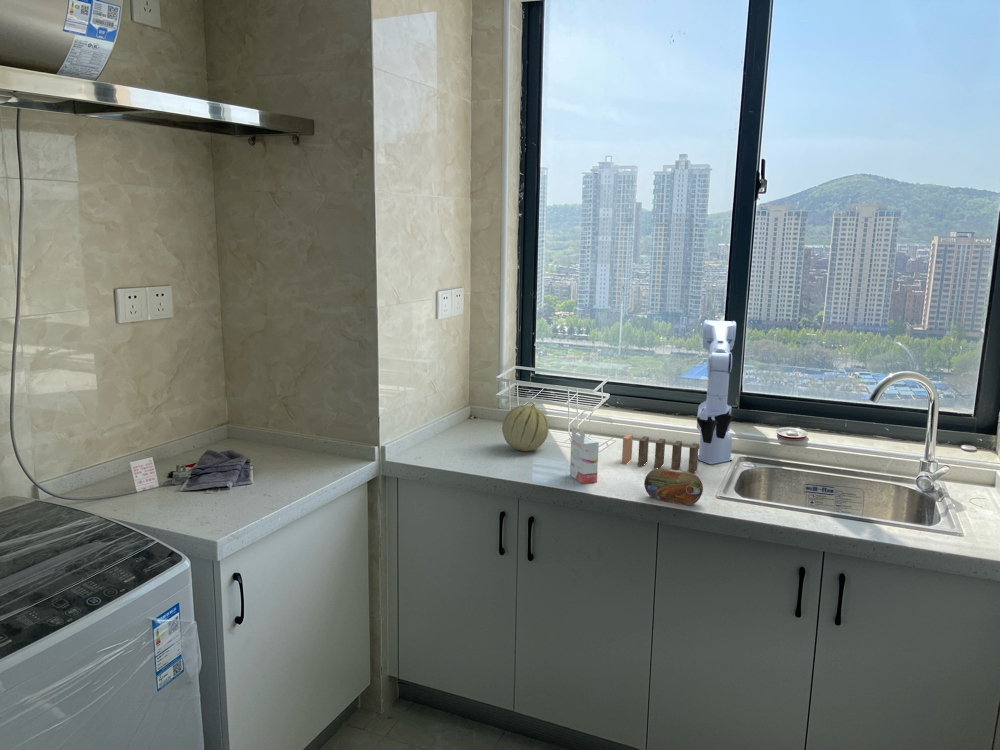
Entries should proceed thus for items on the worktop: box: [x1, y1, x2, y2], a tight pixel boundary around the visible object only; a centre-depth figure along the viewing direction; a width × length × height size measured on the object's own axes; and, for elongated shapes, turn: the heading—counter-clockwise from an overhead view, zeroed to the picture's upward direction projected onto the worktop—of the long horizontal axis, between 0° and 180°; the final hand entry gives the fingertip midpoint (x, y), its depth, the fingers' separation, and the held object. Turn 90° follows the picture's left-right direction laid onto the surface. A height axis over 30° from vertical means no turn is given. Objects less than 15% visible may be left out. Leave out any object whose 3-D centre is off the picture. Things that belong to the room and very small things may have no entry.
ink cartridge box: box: [569, 425, 600, 484], centre depth 208 cm, size 9×5×15 cm, turn 20°
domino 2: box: [637, 435, 650, 467], centre depth 222 cm, size 2×5×8 cm, turn 154°
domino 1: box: [621, 433, 634, 465], centre depth 225 cm, size 2×5×8 cm, turn 154°
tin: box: [643, 467, 704, 506], centre depth 192 cm, size 15×3×8 cm, turn 62°
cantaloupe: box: [501, 403, 550, 452], centre depth 234 cm, size 15×15×15 cm
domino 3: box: [653, 438, 666, 469], centre depth 220 cm, size 2×5×8 cm, turn 154°
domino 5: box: [687, 442, 700, 474], centre depth 216 cm, size 2×5×8 cm, turn 154°
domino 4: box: [670, 440, 683, 471], centre depth 218 cm, size 2×5×8 cm, turn 154°
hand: (713, 440), depth 212 cm, fingers open, 7 cm apart
